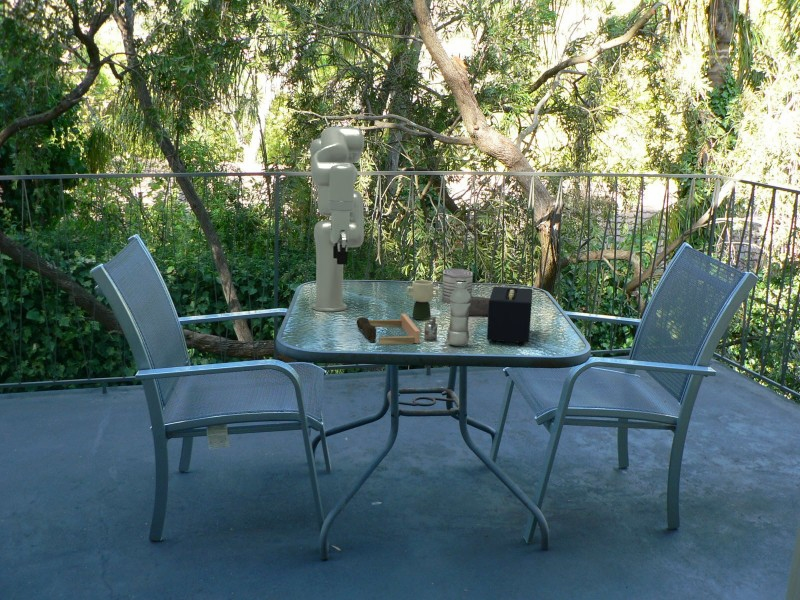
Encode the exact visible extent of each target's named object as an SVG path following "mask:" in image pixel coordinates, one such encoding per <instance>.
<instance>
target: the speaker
mask: <svg viewBox="0 0 800 600" xmlns="http://www.w3.org/2000/svg"><path fill="white" fill-rule="evenodd" d="M489 298H490V299H489V309H488V316H487V327H486V328H487V329H486V340H487V341H491V343H493V344H497V343H498V342H506V343H507V342H509V343H518V345H519V346H524V345H525V344H528V343H529V342H530V332H531V331H530V330H531V322H532V321H531V318H532V317H531V316H532V305H533V304H532V302H533V289H532V288H522V287H521V288H520V287H506V286H504V287H503V286H494V287H492V290H491V294H490V296H489Z"/></svg>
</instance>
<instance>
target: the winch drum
mask: <svg viewBox="0 0 800 600" xmlns="http://www.w3.org/2000/svg"><path fill="white" fill-rule="evenodd" d="M436 319H437V316H432V319H431V320H428V322H425V323H424V332H423V333H424V334H423V335H424V337H423V340H424V341H426V342H436V341H438V328H439V327H438V326H439V324H438V323H436V322H437V321H436Z"/></svg>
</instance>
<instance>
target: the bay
mask: <svg viewBox="0 0 800 600" xmlns="http://www.w3.org/2000/svg"><path fill="white" fill-rule="evenodd" d="M368 321H369V323H370V324H371V325H372V326H375V328H380V327H381V328H383V327H385V328H388V327H389V328H390V327H393V328H394V327H398V328H399V327H400V328H401V325H402V320H401V319H368ZM413 343H415V337H414V336H408V335H407V336H405V335H403V336H378V345H414V344H413Z"/></svg>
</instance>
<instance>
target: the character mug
mask: <svg viewBox="0 0 800 600" xmlns="http://www.w3.org/2000/svg"><path fill="white" fill-rule="evenodd" d="M410 290H411V292H410ZM434 291H435V293H434ZM406 296H408V297H411V299H412V301H414V304H413V309H412V310H413V311H412V317H413V318H415V319H417V320H428V319H430V318H431V317H432V316H431V314H432V313H431V305H430V301H432V300H433V298H438V297H439V287H434V282H433V281H431V280H426V279H418V280H413V281H412V285H411V286H409V285H407V287H406Z"/></svg>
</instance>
